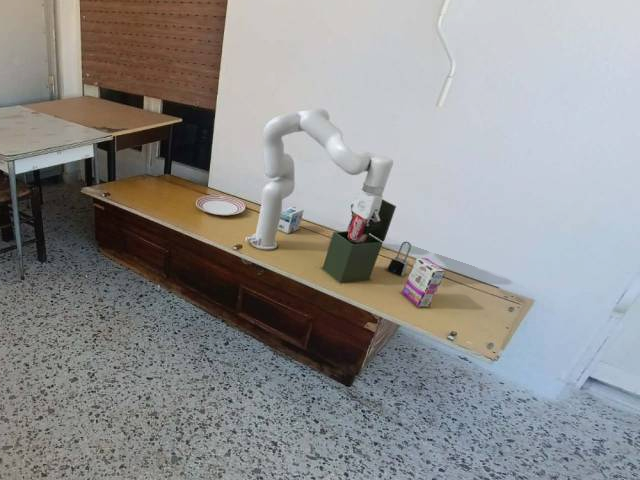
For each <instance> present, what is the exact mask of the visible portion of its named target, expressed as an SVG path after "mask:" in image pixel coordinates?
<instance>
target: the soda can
mask: <svg viewBox="0 0 640 480" xmlns="http://www.w3.org/2000/svg"><path fill="white" fill-rule="evenodd" d="M370 222H371V219H370V220H369V223H370ZM365 225H366V219H364V218H362V217H360V216H359V215H357V214H356V215H355V216H354V218H353V221H352V224H351V227H350V230H349V233H348V239H349V240H350V241H351V242H354V243H362V242H364V241H365V239H366V237H367V234H366V235H363V234H362V232H363V229H364V226H365Z"/></svg>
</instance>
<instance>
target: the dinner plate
mask: <svg viewBox="0 0 640 480" xmlns="http://www.w3.org/2000/svg"><path fill="white" fill-rule="evenodd" d="M195 205H196V207H197V208H198V209H200V210H201V211H203V212H206V213H208V214H210V215H211V214H212V215H214V216H223V217H227V216H235V215H238V214H241V213H243V212H244V211H245V210H246V204H244V203H243V201H242V200H239V199H237V198H234V197H231V196H225V195H217V194H216V195H215V194H214V195H205V196H202V197H199V198H198V199H197V200H196V201H195Z"/></svg>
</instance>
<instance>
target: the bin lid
mask: <svg viewBox="0 0 640 480" xmlns="http://www.w3.org/2000/svg"><path fill="white" fill-rule="evenodd" d="M396 208H397V205H395V204H393V203H390V202H389V201H387V200H386V199H383V198H382V203H381V207H380V210H379V213H378V215H379V218H380V221H379V222H378V223H377V224H375V225H374V226H372V228H371V231H370V233H369V234H370V235H372V236H373V237H375V238H376V239H378V240H380V241H381V242H383V243H384V242H385V240H386V237H387V235H388V232H389V228H390V225H391V223H392V220H393V217H394V214H395V211H396Z"/></svg>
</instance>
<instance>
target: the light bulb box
mask: <svg viewBox="0 0 640 480" xmlns="http://www.w3.org/2000/svg"><path fill="white" fill-rule="evenodd" d="M303 214H304V209H302V208H300V207H297V206H294V205H292V206H290V207H287V208H285V209H282V211H281V216H280V221H279V225H278V229H277V231H281V232H283V233H286V234H290V233H292V232H296V231H298V230H300V225H301V223H302V218H303Z"/></svg>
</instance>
